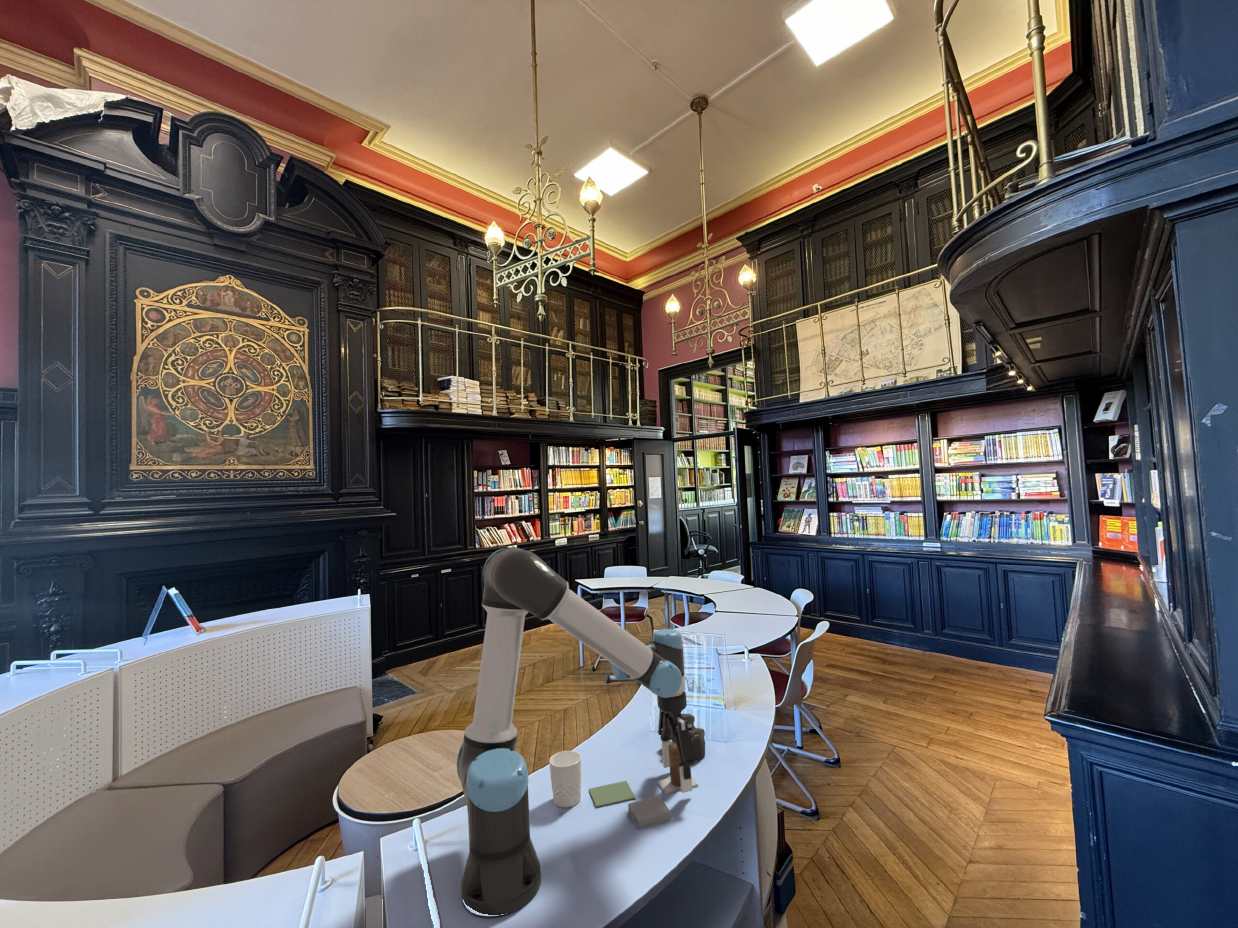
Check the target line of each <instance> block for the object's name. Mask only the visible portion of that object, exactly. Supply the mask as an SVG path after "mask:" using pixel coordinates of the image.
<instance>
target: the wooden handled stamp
mask: <svg viewBox="0 0 1238 928" xmlns="http://www.w3.org/2000/svg"><path fill="white" fill-rule="evenodd" d="M668 747H669V762H670V767H669V772H670V773H669V775H670V777H668V778H662V779H657V784H658V785H659V787H660V789H661V790H662V793H664V795H668V794H672V793H677V792H681V782H680V768H679V766H678V764H679V763H681V762H680V758H679V754H678V750H677V746H676V743H672V744H670V745H669V746H668ZM697 787H699V784H698V783H697V781H696V780H695V779H694V778H693V777H692V789H694V788H697Z"/></svg>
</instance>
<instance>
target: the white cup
mask: <svg viewBox="0 0 1238 928" xmlns="http://www.w3.org/2000/svg"><path fill="white" fill-rule="evenodd" d="M548 761H549V769H550V771H549V773H550V782H551V791H552V798H553V799H552V800H553V803H554V805H555V806H557V807H558V808H564V809H565V808H572V807H573V806H576V805H577V804H578V803H579V802H580V801H581V798H582V795H581V793H582V791H581V790H582V757H581V754H580V753H579V752H578V751H574V750H573V751H572V750H562V751H559V752H557V753H555V754H553V755H551V757H550V758H549V759H548Z"/></svg>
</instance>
